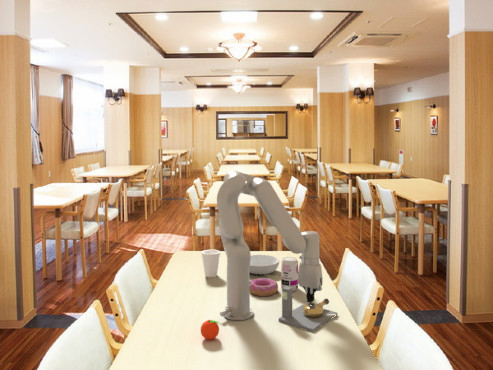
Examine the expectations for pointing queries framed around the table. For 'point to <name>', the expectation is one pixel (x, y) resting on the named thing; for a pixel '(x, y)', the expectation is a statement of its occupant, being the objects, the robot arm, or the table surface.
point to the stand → (300, 313)
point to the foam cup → (210, 262)
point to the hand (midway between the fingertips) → (310, 301)
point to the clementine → (210, 329)
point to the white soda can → (289, 273)
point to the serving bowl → (263, 264)
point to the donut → (263, 287)
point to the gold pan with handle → (314, 309)
